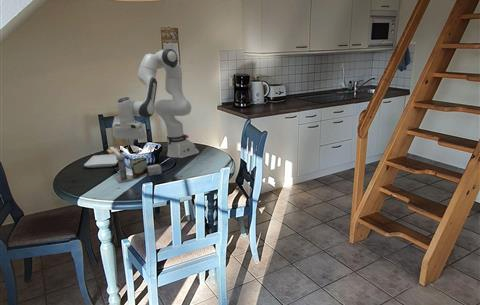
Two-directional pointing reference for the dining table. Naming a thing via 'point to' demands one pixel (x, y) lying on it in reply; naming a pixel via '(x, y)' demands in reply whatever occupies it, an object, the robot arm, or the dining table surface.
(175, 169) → the dining table surface
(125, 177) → the rack post
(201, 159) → the dining table surface
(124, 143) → the fruit juice
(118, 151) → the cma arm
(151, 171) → the block
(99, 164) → the salad plate
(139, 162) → the food container
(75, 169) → the dining table surface
